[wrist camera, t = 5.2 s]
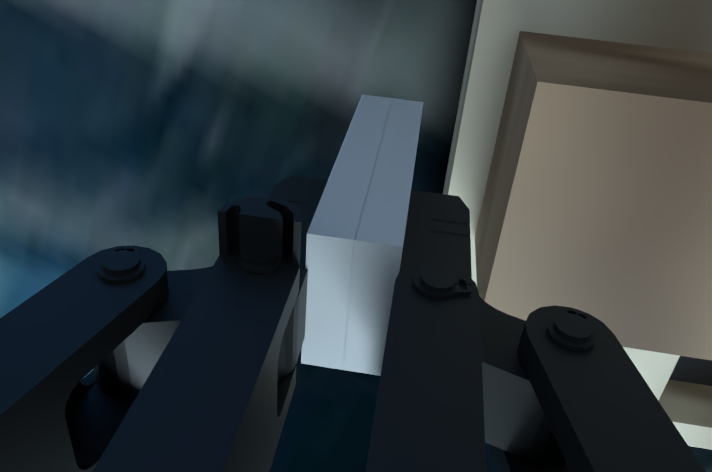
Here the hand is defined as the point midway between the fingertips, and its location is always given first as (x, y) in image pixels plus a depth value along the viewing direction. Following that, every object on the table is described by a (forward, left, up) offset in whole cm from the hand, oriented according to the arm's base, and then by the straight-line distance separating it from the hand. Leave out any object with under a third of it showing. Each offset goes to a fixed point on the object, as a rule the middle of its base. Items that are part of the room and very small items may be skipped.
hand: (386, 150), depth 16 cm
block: (+6, 0, -2) cm, 6 cm away
